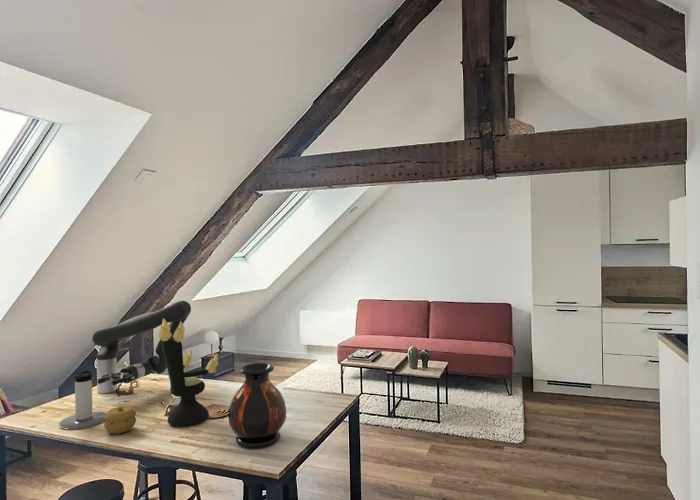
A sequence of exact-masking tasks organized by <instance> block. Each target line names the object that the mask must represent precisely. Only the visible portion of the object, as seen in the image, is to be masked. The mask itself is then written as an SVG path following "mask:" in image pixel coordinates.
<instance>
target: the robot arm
mask: <svg viewBox="0 0 700 500" xmlns="http://www.w3.org/2000/svg"><path fill="white" fill-rule="evenodd" d="M191 310H192V307H191V304H190V303H189V301H186V300H178V301H176V302H174V303H171V304H169V305H168V306H166V307H164V308H162V309H159V310H155V311H150V312H146V313H142V314H140V315H136V316H133V317H131V318H129V319H127V320H124V321H122V322H121V323H118V324H115V325H112V326H105V327H101V328H98V329H97V330H95V332H94V333H93V335H92V339H91V340H92V342H93V344H94V345H95V346H98V347H100V349H99V351H98V352H97V354H96V381H97V382H96V384H97V385H96V386H97V387H96V388H97V393H98V394H108V393H109V394H110V393H113V392H116V391H117V390H116V388H117V389H118V385H119V384H128V383H129V384H130V383H132V382H135V381H137V380H139V379H141V378H143V377H146V376H149V375H150V374H151V373H152V372H154V373H156V375H162V374H163V373H164V372H165V371H166V370H167V365H166V361H165V357H164V353H163V349H162V341H161V339H160V338H159V341H158V343H157V345H156V347H155V354H156V355H150V356H149V357H148V358H146V359H145V360H144V361H142V362H138V363H134V364H131V365H128V366H125V367H122V368H121V369H120V371H118V362H117V359H118V358H117V356H118V355H117V354H118V352H119V340H120V339H124V338H128V337H133V336H137V335H139V334H141V335H142V334H143V333H147V332H149V331H152V330H153V329H156V328H158V327H161V324H162V321H163V318H164V319H165V320H166V322H167V323H168V325H169V326H170V333H172V334H171V335H172V336H171V337H170V339H168V340H173V341H174V338H173V335H174V333H175V331H176V329H177V328H178V326H179V323H180V321H181V322H182V324H183V325H184V323H185V322H186V320H187V319H188V318H189V315H190V314H191Z"/></svg>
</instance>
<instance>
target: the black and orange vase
mask: <svg viewBox="0 0 700 500" xmlns="http://www.w3.org/2000/svg"><path fill="white" fill-rule="evenodd" d="M274 370H275V367H274V365H272V364H270V363H264V362H261V363H260V362H258V363H248V364H246V365H243V366H241V367H240V368H239V372H240V374H243V375H244V379H245V380H244V382H243V384H242V385H241V386H240V387H239V389H237V391H236V392H235V394H234V395H233V396H232V399H231V402H230V404H229V409H228V415H227V416H228V423H229V426H230V428H231V430H232V431H233V432H234V433H235V434H236V437H235V442H236V444H237V445H238V446H240V447H242V448H245V449H252V450H253V449H255V450H257V449H263V448H266V447H269V446H272V445H274V444H276V443H277V442H278V441H279V440H280V438H281V432H280V430H281V429H282V428H283V425H284V424H285V422H286V419H287V407H286V406H287V405H286V402H285V398H284V396H283V394H282V393H281V391H280V390H279V389H278V388H277V386H275V385H274V383H273V382H272V381H271V380H270V378H269V376H270V373H272V372H273V371H274Z"/></svg>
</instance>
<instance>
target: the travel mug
mask: <svg viewBox="0 0 700 500" xmlns="http://www.w3.org/2000/svg"><path fill="white" fill-rule="evenodd" d="M92 380H93V379H92V371H91V370H85V371H81V372H78V373H76V374H75V375H74V394H75V396H74V397H75V398H74V399H75V400H74V403H75V404H74V406H75V415H76V421H78V422H82V421H87V420H90V419H92V412H93V382H92Z"/></svg>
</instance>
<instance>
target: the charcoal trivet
mask: <svg viewBox="0 0 700 500" xmlns="http://www.w3.org/2000/svg"><path fill="white" fill-rule="evenodd" d="M106 413H107V412H104V411H92V419H90V420H87V421H82V422H78V421H76V414H72V415H71V416H68V417H65V418H63V419H62V420H61V421H59V425H60V426H61V427H63V428H68V429H76V430H80V429H79V428H83V429H86V428H85V427H88V428H91V427H90V426H92V427H95V426H98V425H100V424H103V423H105V422H106V421H105V420H104V416H105V414H106ZM102 422H103V423H102ZM60 426H59V427H60Z"/></svg>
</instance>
